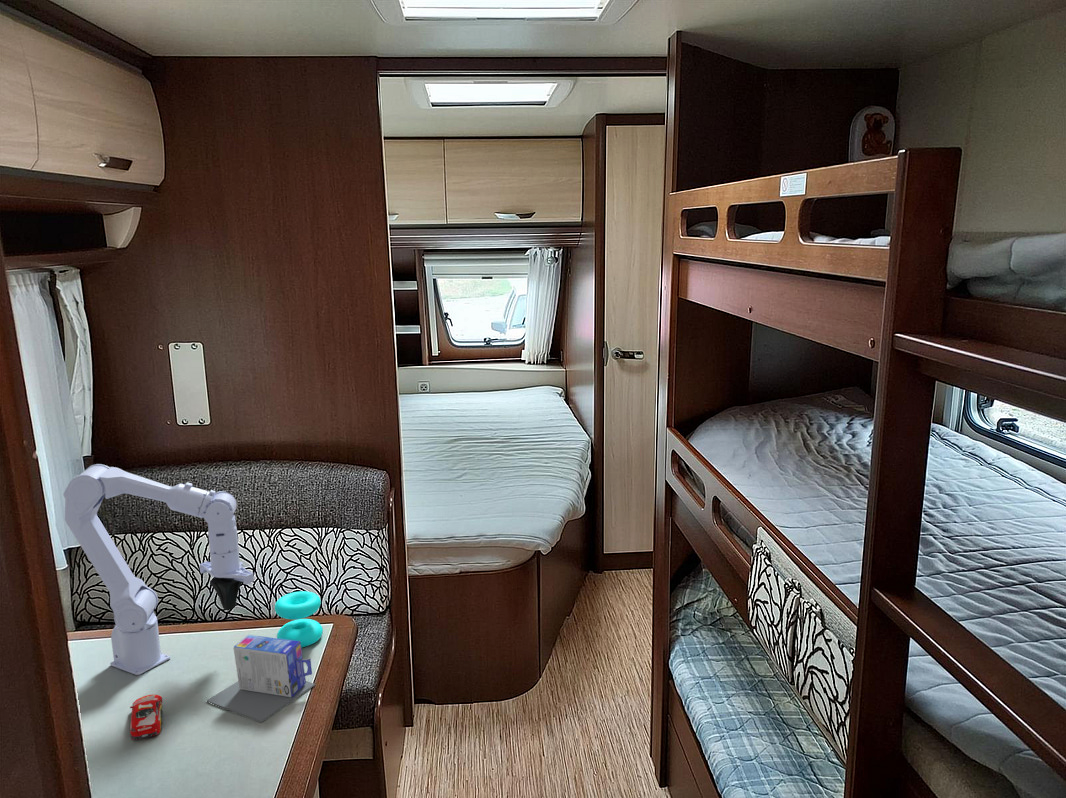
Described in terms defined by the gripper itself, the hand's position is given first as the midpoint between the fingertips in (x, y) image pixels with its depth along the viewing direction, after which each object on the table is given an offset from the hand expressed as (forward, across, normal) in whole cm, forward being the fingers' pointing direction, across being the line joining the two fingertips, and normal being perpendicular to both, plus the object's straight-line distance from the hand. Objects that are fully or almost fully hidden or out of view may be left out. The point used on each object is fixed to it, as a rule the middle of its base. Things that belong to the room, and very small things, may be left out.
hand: (229, 608), depth 164 cm
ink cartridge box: (+5, -13, +8) cm, 16 cm away
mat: (+10, -18, +9) cm, 23 cm away
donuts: (+11, -9, -11) cm, 18 cm away
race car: (+11, -6, +25) cm, 28 cm away
